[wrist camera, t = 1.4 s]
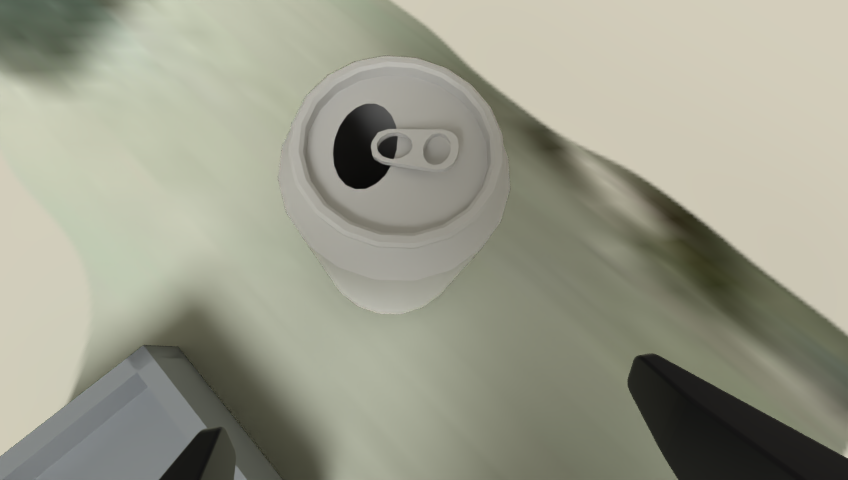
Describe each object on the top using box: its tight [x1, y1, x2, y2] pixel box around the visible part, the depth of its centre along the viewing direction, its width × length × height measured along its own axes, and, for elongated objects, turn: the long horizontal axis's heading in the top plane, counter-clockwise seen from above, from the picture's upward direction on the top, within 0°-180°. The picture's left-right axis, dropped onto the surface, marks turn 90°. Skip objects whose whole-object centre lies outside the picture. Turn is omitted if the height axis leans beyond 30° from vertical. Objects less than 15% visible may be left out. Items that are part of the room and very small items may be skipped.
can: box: [278, 55, 510, 314], centre depth 17 cm, size 8×8×12 cm
